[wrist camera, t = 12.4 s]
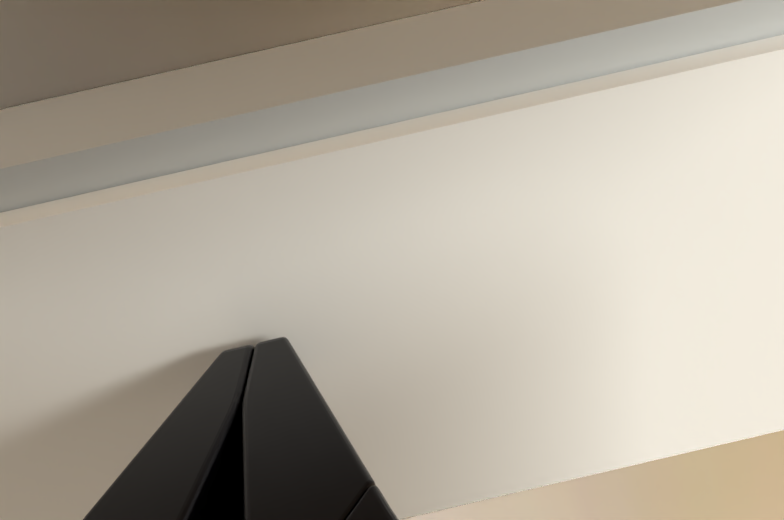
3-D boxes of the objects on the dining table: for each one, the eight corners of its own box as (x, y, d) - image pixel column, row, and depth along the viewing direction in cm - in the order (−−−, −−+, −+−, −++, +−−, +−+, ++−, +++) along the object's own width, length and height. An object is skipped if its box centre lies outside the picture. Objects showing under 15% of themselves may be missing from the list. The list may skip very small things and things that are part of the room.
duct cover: (959, -6, 8) (995, 0, 8) (872, 384, 11) (895, 403, 11) (-551, 338, 8) (-599, 364, 8) (-214, 637, 11) (-234, 668, 11)
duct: (867, -87, 11) (1063, -73, 8) (810, 275, 14) (932, 371, 12) (-432, 207, 11) (-689, 324, 8) (-161, 501, 14) (-271, 653, 11)
